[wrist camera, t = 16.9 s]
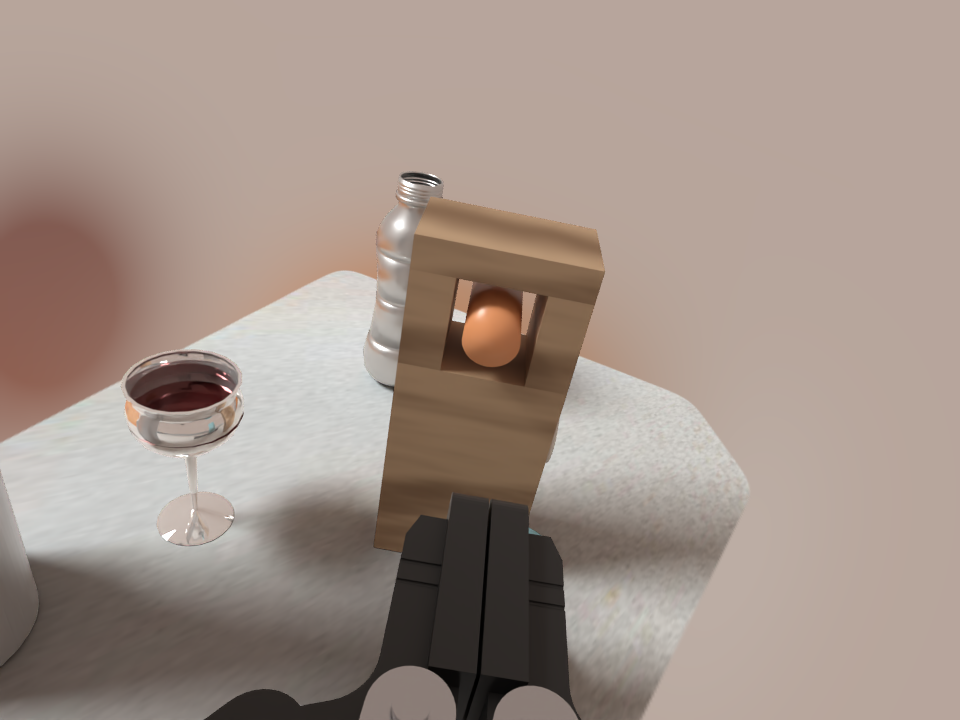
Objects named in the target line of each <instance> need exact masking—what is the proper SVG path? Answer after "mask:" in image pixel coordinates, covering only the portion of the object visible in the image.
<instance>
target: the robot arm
mask: <svg viewBox="0 0 960 720" xmlns="http://www.w3.org/2000/svg"><path fill="white" fill-rule="evenodd" d="M563 586H564V582H563V564H562V559H561V557H560V555H559V553H558V551H557V549H556V547H555V545H554V543H553V541H552V539H551V537H547V536H541V535H535V534H529V509H528V505H524V504H518V503H513V502H507V501H501V500H496V499H491V500H490V503H489V499H488V498H483V497H478V496H472V495H466V494H461V493H455V492H452V495H451V500H450V504H449V509H448V514H447V518H446V519H443V518H437V517H431V516H426V515H420V517H419V518H418V519H417V520H416V522H415V523H414V524H413V525H412V527H411V528H410V529H409V530H408V532H407V533H406V535H405V540H404V545H403V549H402V554H401V559H400V564H399V568H398V573H397V578H396V583H395V587H394V592H393V597H392V601H391V606H390V611H389V616H388V620H387V625H386V630H385V634H384V639H383V644H382V649H381V653H380V657H379V661H378V664H377V666H376V668H375V670H374V672H373V673H372V675H371V676H370V678H369V679H368V680H367V681H366V682H365V683H364V684H363V685H362V686H361V687H359V688H358V689H357V690H355V691H354V692H352V693H350V694H349V695H346V696H344V697H341V698H338V699H335V700H331V701H325V702H320V703H314V704H309V705H303V706H300V705H299V704H298V703H297V702H296V701H295V700H294V699H293V698H291V697H290V696H288V695H287V694H285V693H282V692H280V691H276V690H270V689H260V690H253V691H250V692H246V693H244V694H242V695H239V696H237V697H235V698H234V699H232V700H231V701H229V702H228V703H226V704H225V705H224V706H222V707H221V708H219V709H218V710H217V711H215V712H214V713H213V714H211V715H210V716H209V717H207V718H206V719H204V720H581V719H580V717H579V715H578V714H577V712H576V710H575V707H574V705H573V702H572V699H571V695H570V688H569V672H568V654H567V636H566V618H565V611H564V607H565V600H564V590H563ZM38 608H39V598H38V590H37V587H36V584H35V581H34V578H33V574H32V571H31V568H30V565H29V561H28V558H27V555H26V552H25V547H24V544H23V541H22V538H21V535H20V531H19V528H18V525H17V522H16V519H15V515H14V512H13V509H12V506H11V503H10V499H9V496H8V493H7V490H6V487H5V483H4V480H3V477H2V474H1V471H0V667H1V666H2V665H3V664H4V663H5V662H6V661H7V660H8V659H9V658H10V657H11V656H12V655H13V654H14V653H15V652H16V651H17V650H18V649H19V647H20V646H21V645H22V643H23V642H24V641H25V639H26V638H27V636H28V635H29V634H30V631H31V629H32V627H33V625H34V623H35V621H36V618H37V613H38Z"/></svg>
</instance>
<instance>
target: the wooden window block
mask: <svg viewBox="0 0 960 720" xmlns="http://www.w3.org/2000/svg"><path fill="white" fill-rule="evenodd" d="M604 274H605V269H604V264H603V259H602V254H601V250H600V245H599V240H598V235H597V231H596V229H590V228H585V227H581V226H576V225H571V224H565V223H561V222H556V221H551V220H546V219H541V218H536V217H531V216H526V215H521V214H516V213H511V212H506V211H501V210H496V209H491V208H486V207H481V206H476V205H471V204H466V203H461V202H456V201H451V200H446V199H441V198H436V197H430V199H429V202H428V204H427V206H426V208H425V211H424V213H423V215H422V217H421V220H420V222H419V224H418V226H417V229H416V231H415V233H414V239H413V247H412V255H411V263H410V270H409V278H408V286H407V293H406V301H405V309H404V316H403V324H402V332H401V339H400V347H399V355H398V362H397V370H396V378H395V386H394V393H393V401H392V409H391V416H390V424H389V432H388V439H387V447H386V455H385V462H384V470H383V478H382V486H381V493H380V501H379V509H378V516H377V524H376V532H375V539H374V547H375V548H381V549H386V550H392V551H397V552H402V549H403V545H404V540H405V535H406V533H407V532H408V530H409V529H410V528H411V527H412V525H413V524H414V523H415V522H416V520H417V519H418V518H419V517H420V515H426V516H431V517H437V518H443V519H446V518H447V514H448V509H449V504H450V500H451V495H452V492H455V493H461V494H466V495H472V496H478V497H483V498H488V499H489V503H490V500H491V499H496V500H501V501H507V502H513V503H518V504H524V505H528V509H529V513H530V510H531V507H532V504H533V501H534V497H535V494H536V491H537V488H538V485H539V481H540V478H541V475H542V472H543V469H544V465H545V463H547V462H548V461H549V459H550V457H551V455H552V452H553V449H554V445H555V441H556V436H557V431H558V425H559V417H560V414H561V411H562V408H563V405H564V401H565V398H566V395H567V392H568V389H569V386H570V382H571V379H572V376H573V373H574V370H575V366H576V363H577V360H578V357H579V354H580V350H581V347H582V344H583V341H584V338H585V334H586V331H587V328H588V325H589V322H590V318H591V315H592V312H593V309H594V306H595V302H596V299H597V296H598V293H599V290H600V286H601V283H602V280H603V277H604ZM459 279H463V280H468V281H473V282H478V283H483V284H488V285H494V286H499V287H504V288H509V289H514V290H519V291H524V292H529V293H534V294H537V295H536V299H535V303H534V307H533V310H532V314H531V318H530V322H529V326H528V330H527V334H526V335H522V334H521V343H520V349H519V352H518V354H517V355H516V357H515V358H514V359H513V360H512V361H510V362H509V363H507V364H505V365H502V366H498V367H486V366H482V365H479V364H477V363H475V362H474V361H472V360H471V359H470V358H469V357H468V356H467V355H466V353H465V351H464V349H463V346H462V336H463V331H464V326H465V323H461V322H456V321H452V317H453V311H454V306H455V300H456V294H457V289H458V283H459Z"/></svg>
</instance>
